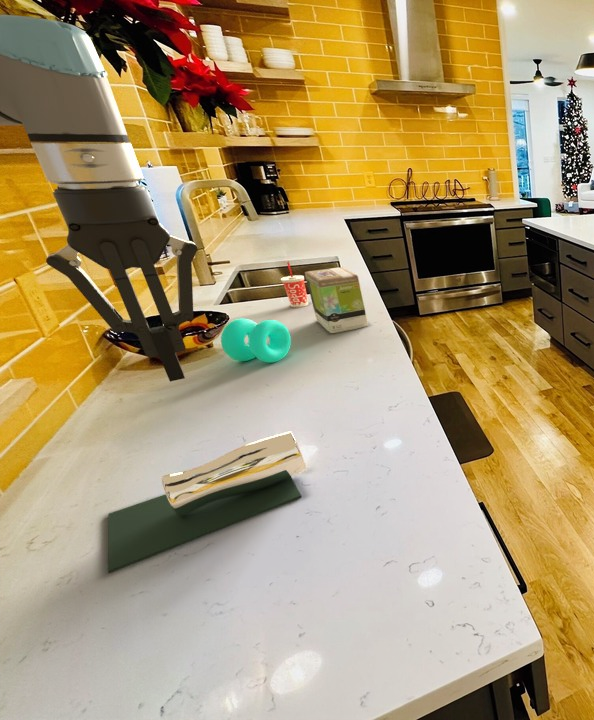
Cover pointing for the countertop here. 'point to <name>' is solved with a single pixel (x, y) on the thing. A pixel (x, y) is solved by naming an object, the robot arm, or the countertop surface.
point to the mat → (183, 522)
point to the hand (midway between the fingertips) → (176, 376)
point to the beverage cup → (295, 289)
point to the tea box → (337, 299)
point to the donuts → (256, 340)
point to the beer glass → (235, 473)
